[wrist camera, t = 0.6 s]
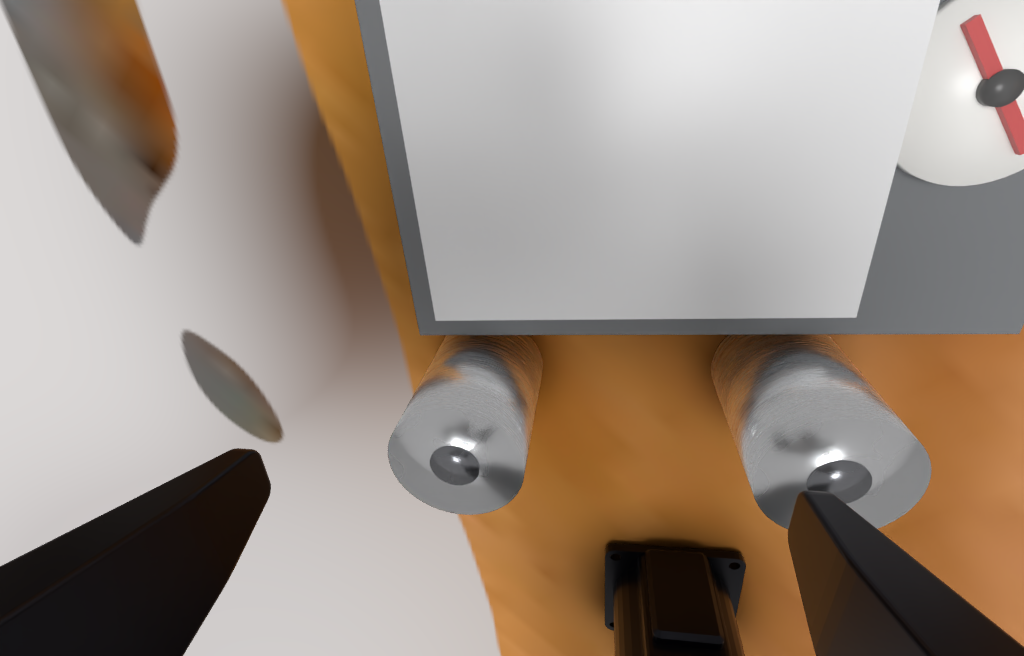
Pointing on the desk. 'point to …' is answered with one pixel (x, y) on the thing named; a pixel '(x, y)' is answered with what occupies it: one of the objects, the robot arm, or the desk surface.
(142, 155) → the desk surface
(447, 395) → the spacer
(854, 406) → the spacer
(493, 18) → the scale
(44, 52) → the desk surface
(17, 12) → the desk surface
